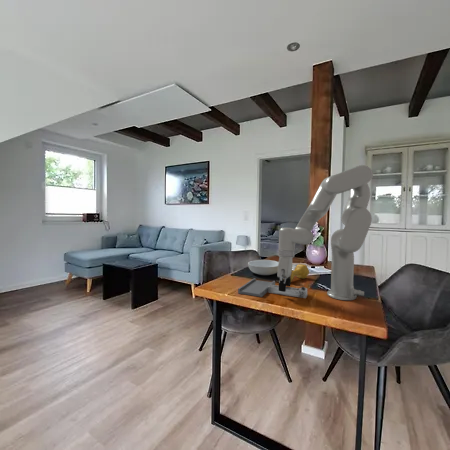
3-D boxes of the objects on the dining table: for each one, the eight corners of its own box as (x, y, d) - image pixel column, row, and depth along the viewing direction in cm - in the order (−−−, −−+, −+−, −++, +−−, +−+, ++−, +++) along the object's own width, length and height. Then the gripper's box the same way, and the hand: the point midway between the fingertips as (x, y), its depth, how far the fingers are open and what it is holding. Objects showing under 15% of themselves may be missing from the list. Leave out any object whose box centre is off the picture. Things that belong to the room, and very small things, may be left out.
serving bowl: (241, 271, 167) (241, 261, 167) (267, 268, 177) (267, 258, 177) (260, 279, 149) (260, 268, 149) (288, 275, 159) (288, 264, 158)
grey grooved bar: (307, 295, 121) (307, 286, 121) (305, 298, 118) (305, 288, 117) (270, 290, 129) (270, 281, 129) (267, 292, 126) (268, 283, 125)
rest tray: (274, 284, 138) (275, 280, 138) (261, 297, 119) (261, 292, 119) (254, 281, 144) (254, 278, 144) (238, 293, 124) (238, 288, 124)
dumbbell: (297, 275, 158) (297, 262, 157) (310, 279, 151) (310, 265, 150) (277, 281, 146) (277, 267, 146) (290, 284, 139) (290, 270, 139)
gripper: (283, 250, 132) (281, 282, 133) (273, 255, 116) (271, 292, 118) (297, 251, 128) (296, 285, 130) (290, 257, 113) (288, 294, 114)
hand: (284, 288), depth 124 cm, fingers open, 9 cm apart
